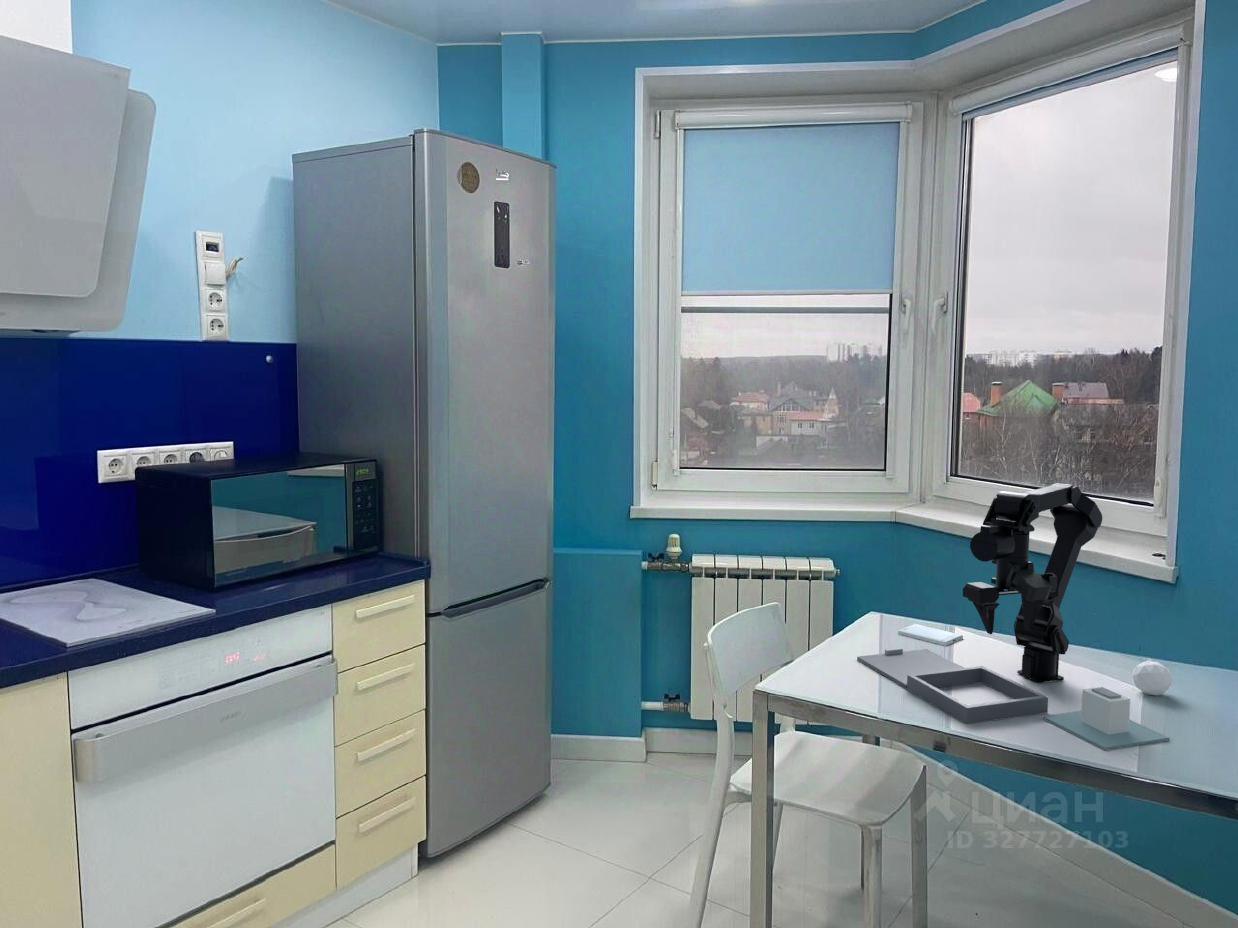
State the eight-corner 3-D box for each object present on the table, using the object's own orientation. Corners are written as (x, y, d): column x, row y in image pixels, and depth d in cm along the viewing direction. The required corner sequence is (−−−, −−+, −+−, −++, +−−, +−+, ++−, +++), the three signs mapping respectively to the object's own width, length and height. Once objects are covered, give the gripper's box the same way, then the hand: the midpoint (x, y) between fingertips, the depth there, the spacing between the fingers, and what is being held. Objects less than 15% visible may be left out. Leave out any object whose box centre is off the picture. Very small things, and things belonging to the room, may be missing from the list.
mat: (1103, 709, 161) (1103, 707, 161) (1169, 740, 148) (1169, 737, 148) (1042, 718, 157) (1042, 715, 157) (1104, 750, 144) (1104, 747, 144)
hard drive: (898, 630, 209) (945, 641, 199) (915, 623, 214) (963, 633, 205) (897, 636, 209) (945, 648, 200) (915, 629, 214) (962, 640, 205)
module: (1100, 718, 156) (1102, 684, 155) (1128, 731, 150) (1130, 696, 150) (1080, 721, 155) (1082, 687, 154) (1108, 734, 149) (1110, 699, 148)
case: (926, 652, 195) (926, 639, 194) (1047, 712, 160) (1048, 697, 160) (857, 659, 190) (857, 646, 189) (966, 723, 155) (967, 707, 155)
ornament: (1126, 693, 169) (1122, 657, 173) (1152, 702, 171) (1147, 666, 175) (1155, 687, 164) (1150, 650, 168) (1182, 696, 166) (1176, 659, 169)
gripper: (1002, 566, 159) (998, 648, 160) (1083, 560, 164) (1078, 639, 165) (962, 554, 169) (959, 631, 171) (1039, 549, 174) (1035, 623, 176)
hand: (1008, 631), depth 170 cm, fingers open, 9 cm apart
